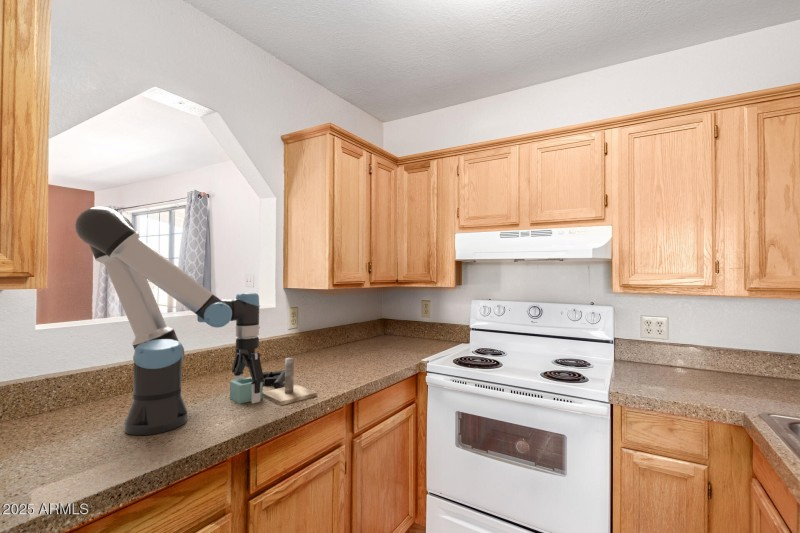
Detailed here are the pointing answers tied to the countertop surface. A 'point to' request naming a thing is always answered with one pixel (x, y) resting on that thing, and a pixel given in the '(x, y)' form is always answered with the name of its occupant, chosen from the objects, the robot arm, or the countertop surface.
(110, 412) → the countertop surface
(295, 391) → the peg stand
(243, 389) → the collar
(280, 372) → the black toy gun
